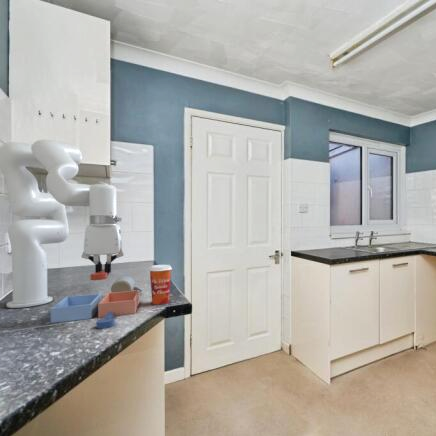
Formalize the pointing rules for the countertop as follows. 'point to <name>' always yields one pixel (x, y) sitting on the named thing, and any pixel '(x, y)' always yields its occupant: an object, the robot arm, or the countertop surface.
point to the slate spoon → (105, 321)
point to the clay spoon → (99, 275)
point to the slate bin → (75, 308)
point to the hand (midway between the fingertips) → (103, 275)
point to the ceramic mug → (124, 285)
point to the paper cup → (160, 283)
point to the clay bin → (119, 303)
